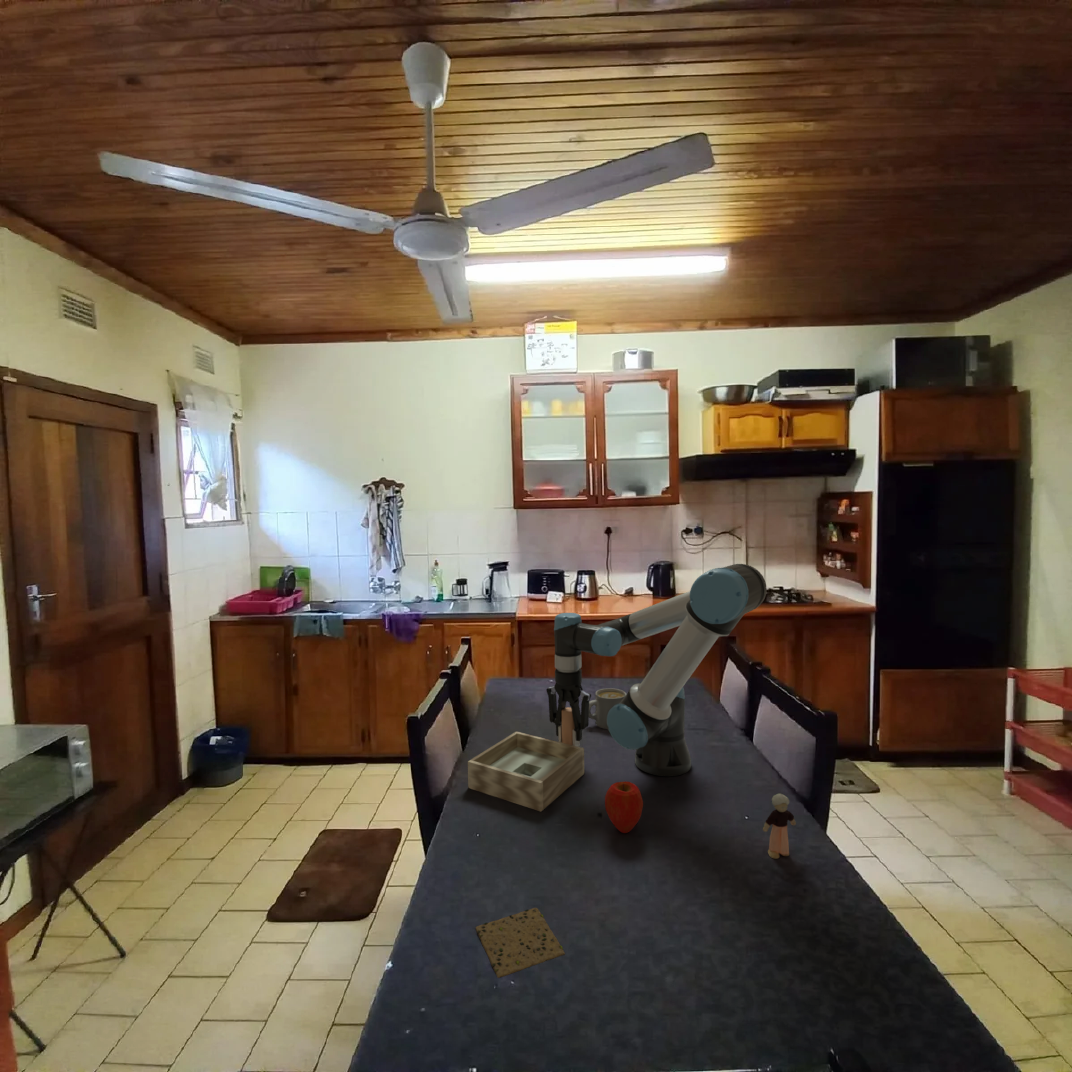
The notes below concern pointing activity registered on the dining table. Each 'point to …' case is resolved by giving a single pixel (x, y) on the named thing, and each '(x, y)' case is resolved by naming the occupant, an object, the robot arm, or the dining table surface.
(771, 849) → the grandmother figurine
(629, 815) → the apple
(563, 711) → the peg
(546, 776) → the box
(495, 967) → the cookie
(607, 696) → the coffee mug
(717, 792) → the dining table surface
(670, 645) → the robot arm
